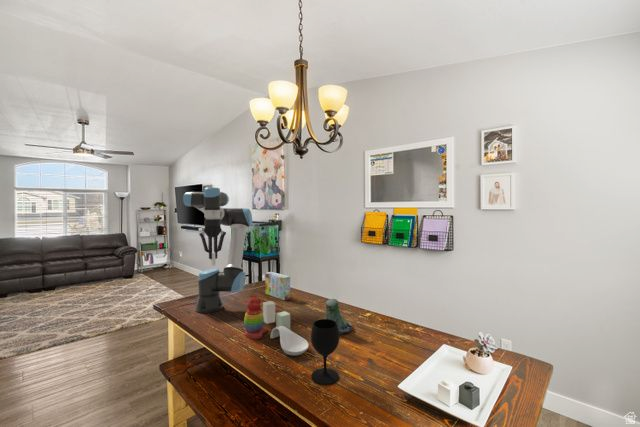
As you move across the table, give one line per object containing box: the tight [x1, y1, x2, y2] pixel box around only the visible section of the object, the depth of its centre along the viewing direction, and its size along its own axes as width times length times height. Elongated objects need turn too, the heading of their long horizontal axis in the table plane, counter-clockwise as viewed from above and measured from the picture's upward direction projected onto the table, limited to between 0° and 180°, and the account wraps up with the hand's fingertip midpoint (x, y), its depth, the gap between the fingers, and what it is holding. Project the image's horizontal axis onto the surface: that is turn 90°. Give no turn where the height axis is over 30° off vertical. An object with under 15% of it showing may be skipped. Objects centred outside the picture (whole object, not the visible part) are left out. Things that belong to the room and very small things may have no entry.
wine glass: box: [310, 318, 340, 386], centre depth 109 cm, size 10×10×20 cm
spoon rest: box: [269, 326, 310, 357], centre depth 132 cm, size 24×12×7 cm, turn 39°
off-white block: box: [262, 300, 276, 325], centre depth 159 cm, size 5×5×10 cm
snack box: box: [264, 271, 291, 301], centre depth 201 cm, size 21×6×15 cm, turn 46°
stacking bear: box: [243, 295, 268, 340], centre depth 144 cm, size 11×10×18 cm
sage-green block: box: [275, 310, 291, 337], centre depth 144 cm, size 5×5×10 cm
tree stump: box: [323, 298, 353, 335], centre depth 150 cm, size 18×20×18 cm
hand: (213, 265), depth 149 cm, fingers closed
